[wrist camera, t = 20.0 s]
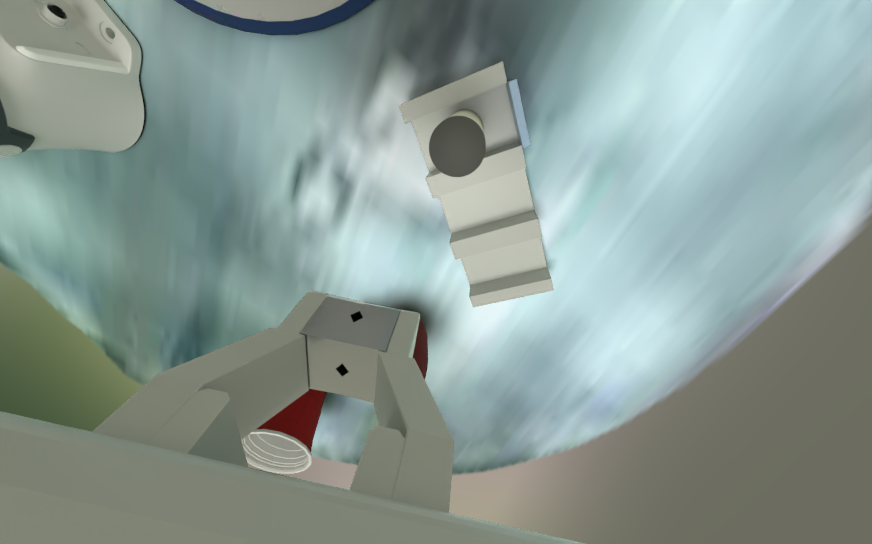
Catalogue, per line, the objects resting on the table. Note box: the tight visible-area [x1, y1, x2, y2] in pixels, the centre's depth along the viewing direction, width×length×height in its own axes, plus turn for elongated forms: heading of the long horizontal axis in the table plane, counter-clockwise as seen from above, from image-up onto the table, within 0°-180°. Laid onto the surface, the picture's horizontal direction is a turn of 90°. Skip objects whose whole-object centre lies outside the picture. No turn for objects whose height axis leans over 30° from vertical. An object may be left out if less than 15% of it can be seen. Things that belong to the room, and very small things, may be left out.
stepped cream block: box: [399, 61, 554, 307], centre depth 32 cm, size 22×10×6 cm, turn 20°
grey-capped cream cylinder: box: [429, 109, 486, 177], centre depth 26 cm, size 4×4×10 cm
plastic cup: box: [241, 389, 326, 474], centre depth 49 cm, size 11×11×12 cm
